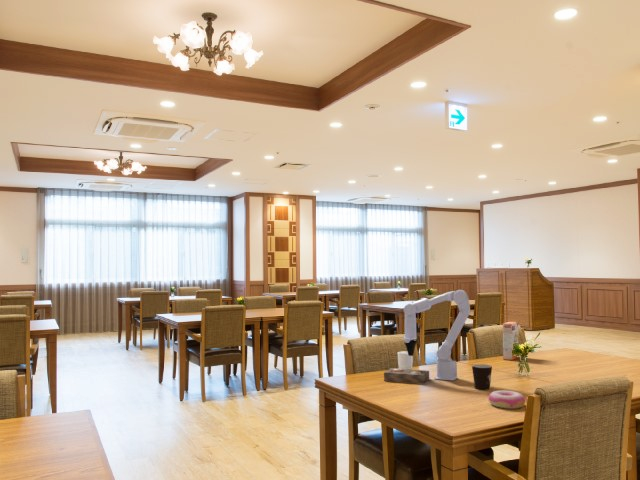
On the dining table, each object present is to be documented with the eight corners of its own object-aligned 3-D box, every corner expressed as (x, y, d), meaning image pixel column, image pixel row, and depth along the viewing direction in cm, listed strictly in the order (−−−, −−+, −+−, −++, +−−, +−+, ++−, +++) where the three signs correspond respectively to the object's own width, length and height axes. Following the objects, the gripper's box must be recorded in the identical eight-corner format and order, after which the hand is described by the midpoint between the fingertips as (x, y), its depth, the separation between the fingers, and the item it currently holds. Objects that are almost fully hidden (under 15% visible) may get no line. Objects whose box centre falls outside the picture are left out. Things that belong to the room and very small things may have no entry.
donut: (484, 407, 215) (484, 394, 215) (494, 400, 226) (494, 387, 226) (520, 412, 208) (519, 398, 208) (528, 404, 219) (528, 391, 219)
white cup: (396, 372, 283) (395, 353, 284) (399, 370, 291) (399, 351, 291) (411, 373, 280) (411, 354, 281) (414, 371, 288) (414, 351, 288)
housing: (429, 379, 267) (429, 370, 267) (423, 384, 256) (423, 375, 257) (391, 376, 275) (391, 368, 275) (384, 380, 264) (384, 372, 264)
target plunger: (404, 376, 269) (404, 368, 269) (401, 377, 264) (401, 370, 265) (394, 375, 271) (394, 368, 271) (391, 377, 266) (391, 369, 267)
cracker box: (513, 360, 315) (512, 323, 316) (502, 359, 318) (501, 323, 319) (519, 357, 327) (518, 321, 328) (509, 356, 330) (508, 321, 331)
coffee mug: (482, 391, 240) (481, 368, 241) (468, 387, 248) (467, 365, 248) (501, 388, 246) (501, 366, 246) (487, 384, 253) (487, 363, 254)
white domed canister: (422, 379, 265) (422, 371, 265) (419, 381, 261) (419, 373, 261) (412, 378, 267) (412, 371, 267) (409, 380, 263) (409, 372, 263)
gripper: (406, 326, 282) (407, 352, 282) (398, 329, 269) (398, 357, 269) (420, 326, 279) (420, 353, 279) (412, 329, 266) (413, 358, 266)
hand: (410, 355), depth 273 cm, fingers closed
